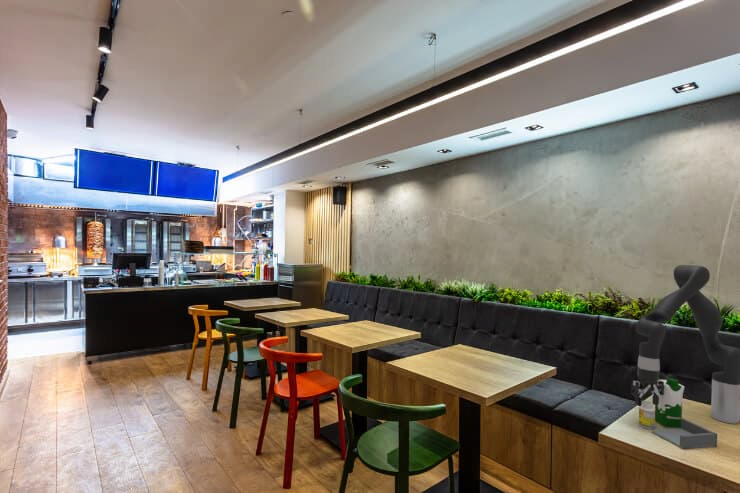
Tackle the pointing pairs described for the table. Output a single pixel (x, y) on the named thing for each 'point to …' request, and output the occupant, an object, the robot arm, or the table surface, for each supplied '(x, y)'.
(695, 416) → the table surface
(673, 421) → the soya milk
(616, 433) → the table surface
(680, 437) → the corner arena
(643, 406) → the supplement bottle
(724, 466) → the table surface
